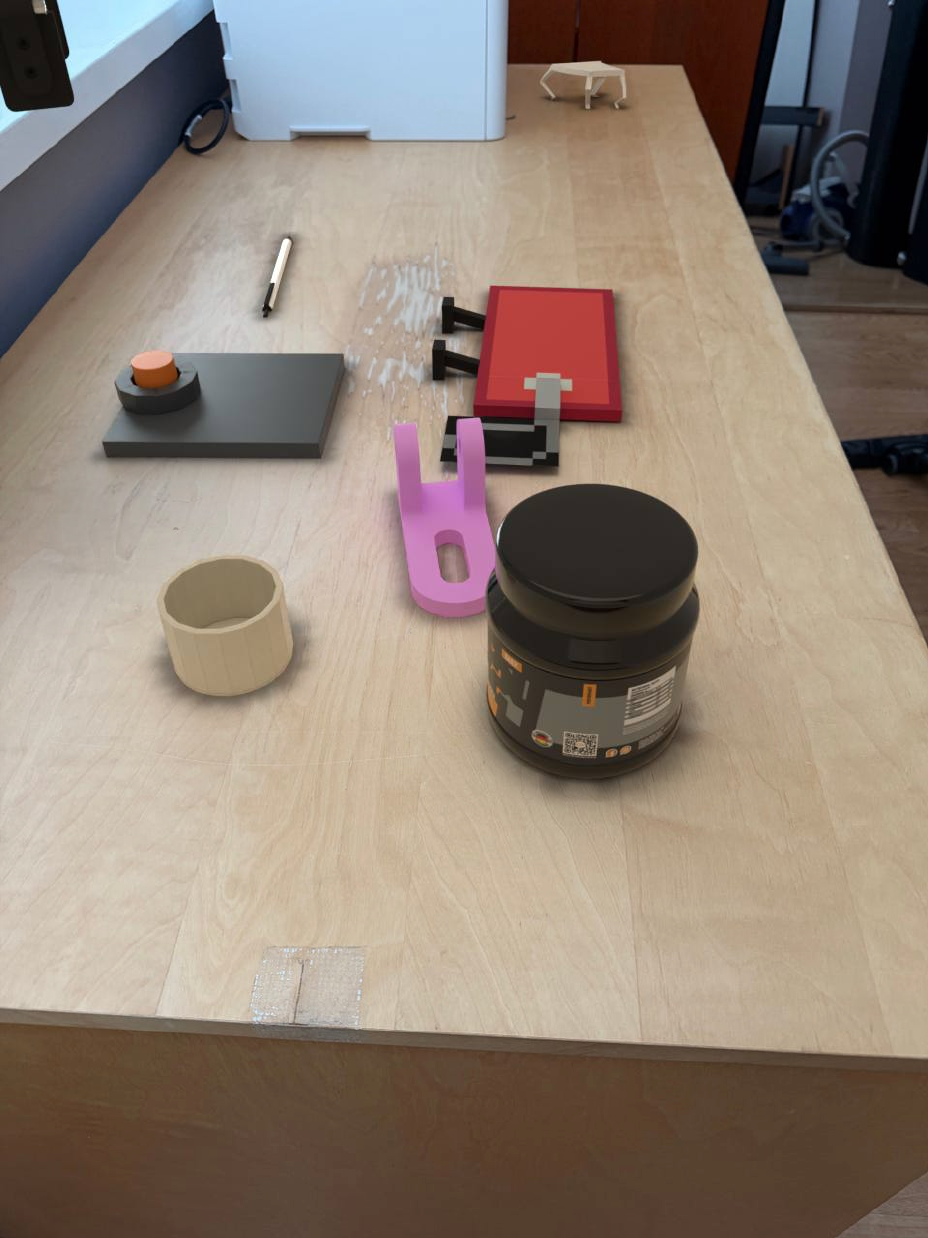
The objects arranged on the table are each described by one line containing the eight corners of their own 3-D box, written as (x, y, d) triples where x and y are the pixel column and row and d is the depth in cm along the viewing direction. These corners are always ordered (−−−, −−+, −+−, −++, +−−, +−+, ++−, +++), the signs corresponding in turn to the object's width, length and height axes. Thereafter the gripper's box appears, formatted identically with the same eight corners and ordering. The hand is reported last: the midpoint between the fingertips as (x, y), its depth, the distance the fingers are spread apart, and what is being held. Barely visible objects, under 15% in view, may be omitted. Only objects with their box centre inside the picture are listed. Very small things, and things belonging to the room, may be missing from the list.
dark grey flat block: (99, 460, 77) (88, 422, 75) (150, 369, 88) (141, 334, 85) (321, 461, 76) (316, 423, 74) (345, 370, 87) (341, 334, 85)
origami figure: (625, 96, 146) (628, 57, 143) (625, 113, 140) (628, 73, 137) (540, 94, 147) (541, 56, 144) (536, 112, 141) (537, 72, 138)
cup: (162, 698, 58) (142, 632, 55) (191, 618, 63) (174, 553, 60) (282, 700, 58) (269, 634, 55) (302, 620, 63) (291, 555, 60)
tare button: (130, 390, 79) (125, 369, 78) (142, 370, 82) (137, 349, 80) (172, 390, 79) (167, 369, 78) (182, 370, 81) (178, 349, 80)
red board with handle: (413, 471, 74) (624, 480, 74) (412, 437, 73) (628, 446, 72) (449, 298, 97) (611, 303, 96) (449, 269, 95) (613, 274, 94)
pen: (260, 321, 94) (258, 309, 94) (285, 240, 109) (284, 229, 108) (270, 321, 94) (268, 309, 94) (294, 240, 109) (292, 229, 108)
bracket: (398, 502, 72) (392, 413, 68) (478, 495, 73) (477, 406, 68) (415, 624, 62) (409, 531, 58) (507, 615, 63) (508, 522, 58)
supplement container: (522, 631, 62) (526, 459, 54) (698, 674, 59) (729, 498, 51) (456, 756, 55) (450, 579, 47) (653, 813, 52) (683, 633, 44)
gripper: (-151, -358, 48) (-27, 51, 60) (-215, -386, 36) (-44, 138, 47) (18, -360, 50) (107, 39, 61) (12, -389, 37) (125, 120, 49)
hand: (41, 82), depth 54 cm, fingers open, 9 cm apart
